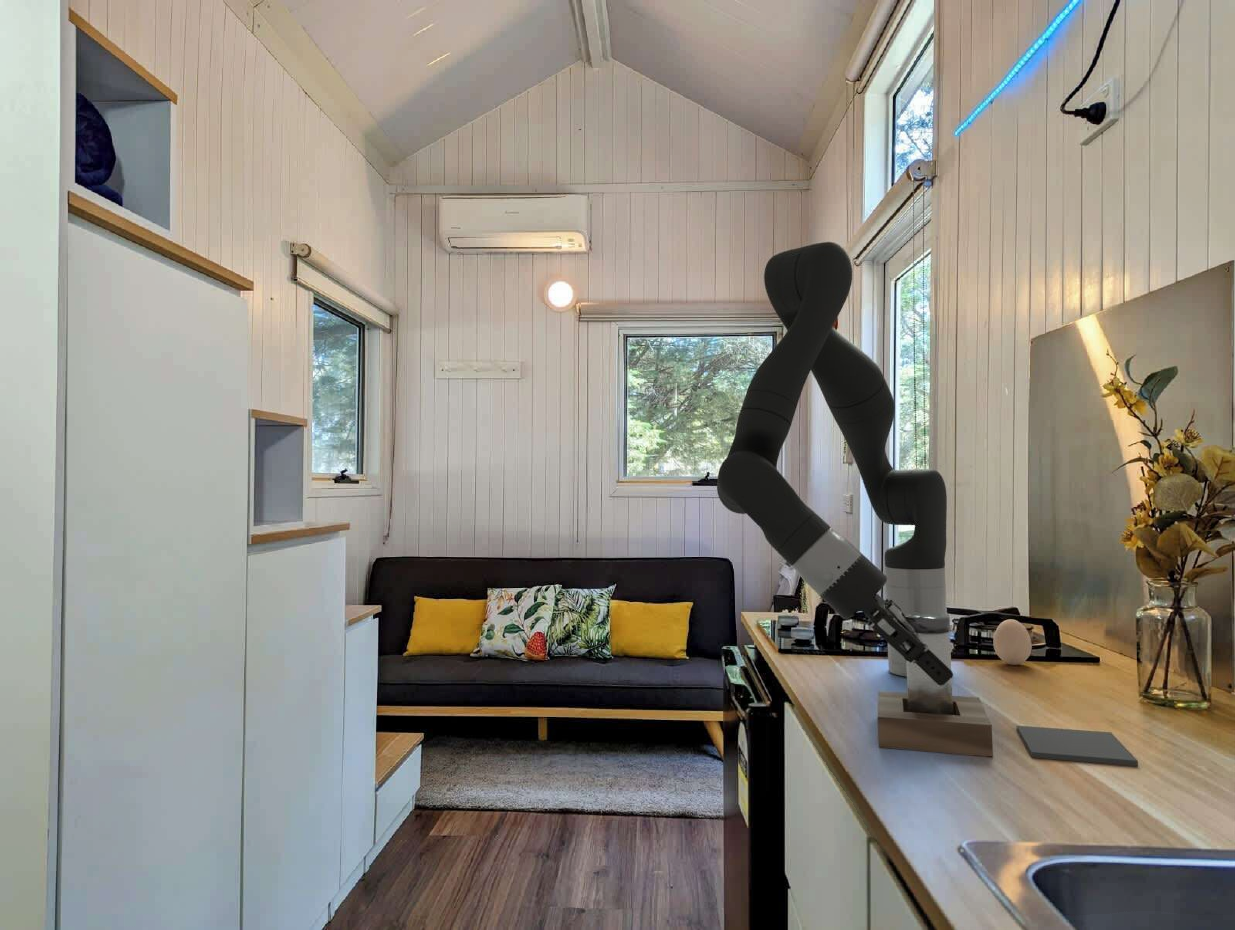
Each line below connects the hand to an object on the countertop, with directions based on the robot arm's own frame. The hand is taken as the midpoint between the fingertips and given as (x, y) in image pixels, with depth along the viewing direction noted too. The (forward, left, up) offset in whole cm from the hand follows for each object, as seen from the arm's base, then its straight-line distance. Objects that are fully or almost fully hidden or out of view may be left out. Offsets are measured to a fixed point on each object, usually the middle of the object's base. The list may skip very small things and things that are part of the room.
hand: (945, 674), depth 90 cm
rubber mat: (-8, +11, -8) cm, 15 cm away
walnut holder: (+1, -2, -8) cm, 8 cm away
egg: (-44, -14, -8) cm, 47 cm away
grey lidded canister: (+1, -2, -6) cm, 6 cm away
